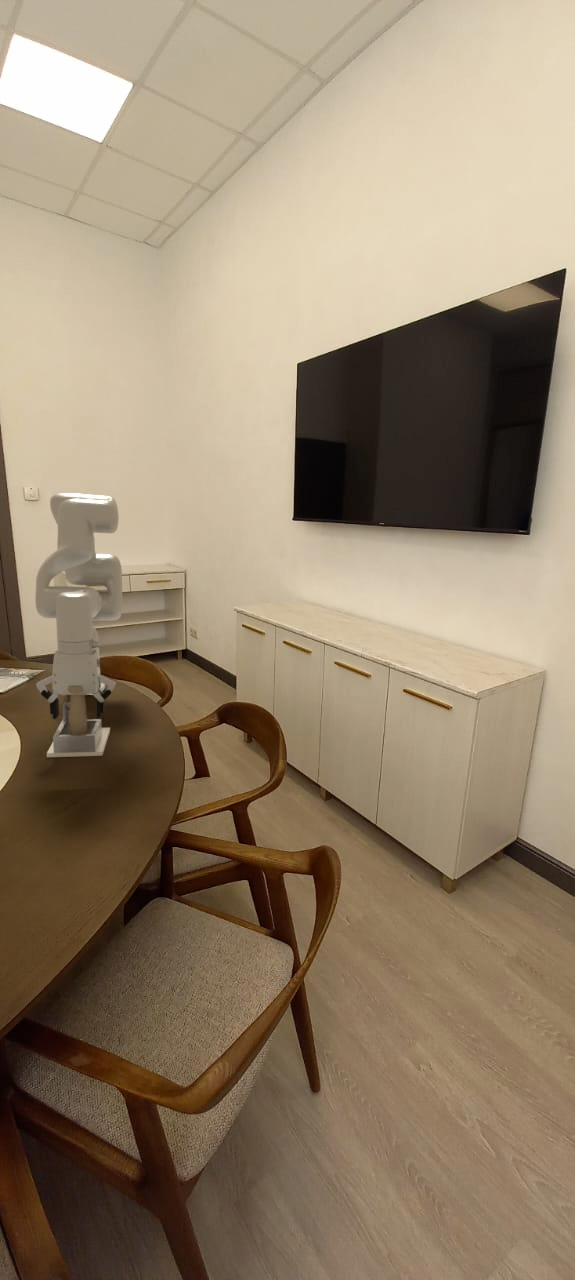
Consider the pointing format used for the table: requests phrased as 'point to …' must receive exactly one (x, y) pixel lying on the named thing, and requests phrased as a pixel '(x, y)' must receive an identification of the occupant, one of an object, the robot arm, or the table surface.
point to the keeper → (78, 738)
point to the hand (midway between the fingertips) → (77, 716)
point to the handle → (77, 711)
